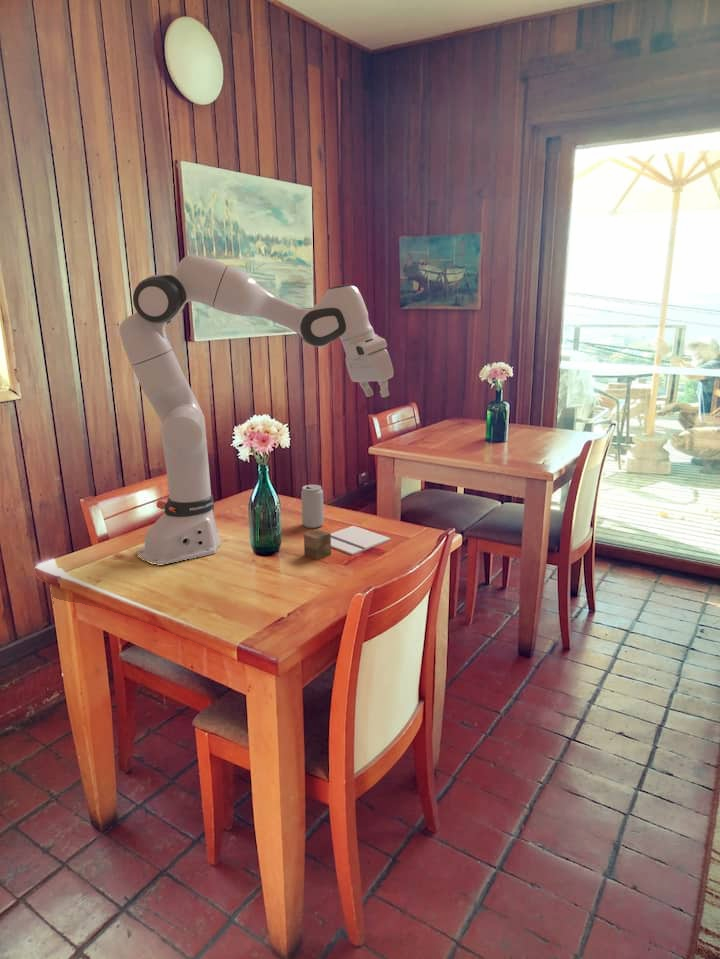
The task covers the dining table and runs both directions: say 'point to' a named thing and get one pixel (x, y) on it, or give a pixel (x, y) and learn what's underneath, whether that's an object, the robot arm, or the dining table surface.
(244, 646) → the dining table surface
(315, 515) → the beverage can
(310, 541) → the walnut block
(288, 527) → the dining table surface
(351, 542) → the board
